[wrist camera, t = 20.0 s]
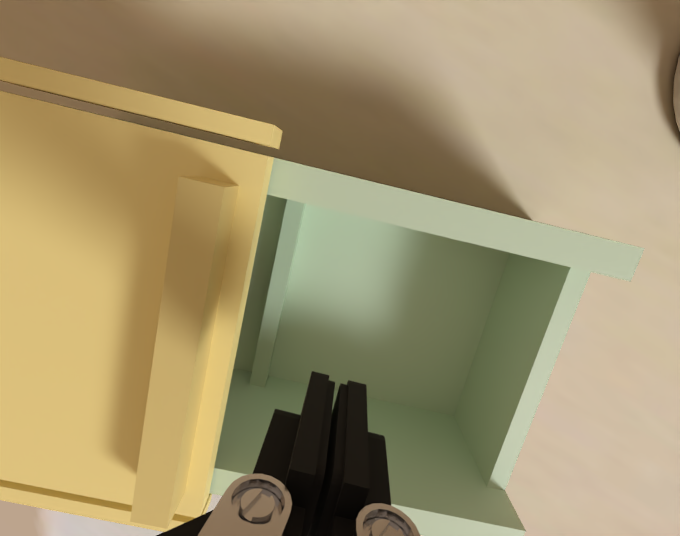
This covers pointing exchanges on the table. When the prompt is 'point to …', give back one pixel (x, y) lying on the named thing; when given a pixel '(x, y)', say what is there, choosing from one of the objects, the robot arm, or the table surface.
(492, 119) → the table surface
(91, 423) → the lid
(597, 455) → the table surface
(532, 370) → the box
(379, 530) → the robot arm
